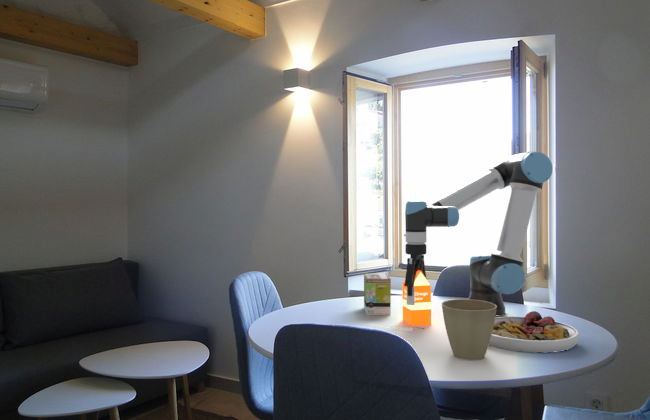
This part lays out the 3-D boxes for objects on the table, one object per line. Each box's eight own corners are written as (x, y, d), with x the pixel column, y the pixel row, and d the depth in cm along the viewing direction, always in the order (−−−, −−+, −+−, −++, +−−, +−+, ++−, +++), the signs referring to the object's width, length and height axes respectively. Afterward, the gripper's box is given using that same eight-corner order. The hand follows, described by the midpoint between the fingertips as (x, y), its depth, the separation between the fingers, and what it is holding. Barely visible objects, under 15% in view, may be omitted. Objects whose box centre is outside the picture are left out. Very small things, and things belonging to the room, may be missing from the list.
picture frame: (424, 329, 178) (424, 327, 178) (410, 343, 162) (410, 341, 162) (360, 323, 189) (360, 321, 189) (340, 335, 172) (340, 333, 172)
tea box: (391, 315, 200) (391, 278, 200) (365, 316, 201) (365, 278, 200) (387, 307, 215) (387, 272, 215) (363, 307, 216) (363, 272, 215)
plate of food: (572, 364, 141) (572, 336, 140) (464, 348, 157) (463, 323, 156) (583, 338, 166) (583, 314, 166) (489, 327, 182) (489, 305, 182)
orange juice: (411, 327, 183) (410, 271, 182) (402, 321, 191) (401, 267, 191) (431, 325, 184) (431, 270, 184) (422, 320, 193) (421, 267, 192)
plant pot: (437, 365, 141) (436, 307, 140) (447, 350, 154) (446, 297, 154) (494, 372, 135) (494, 311, 134) (499, 355, 148) (499, 301, 148)
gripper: (415, 240, 200) (415, 294, 200) (395, 245, 177) (395, 306, 178) (434, 241, 197) (434, 296, 197) (416, 246, 174) (416, 308, 175)
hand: (415, 301), depth 187 cm, fingers open, 13 cm apart
